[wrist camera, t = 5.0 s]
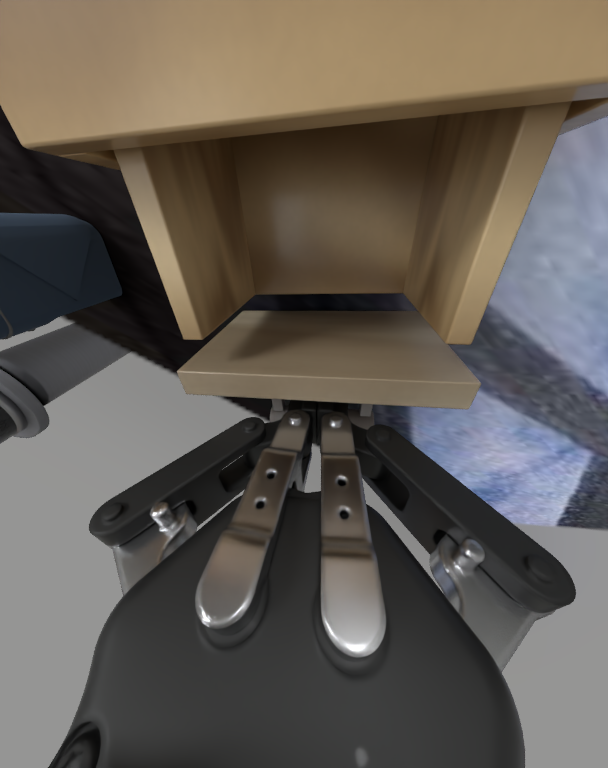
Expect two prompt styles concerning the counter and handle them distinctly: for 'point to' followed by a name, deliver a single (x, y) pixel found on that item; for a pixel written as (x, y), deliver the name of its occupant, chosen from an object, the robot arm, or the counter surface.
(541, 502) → the counter surface
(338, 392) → the drawer
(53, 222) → the vaping device
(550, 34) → the cabinet
